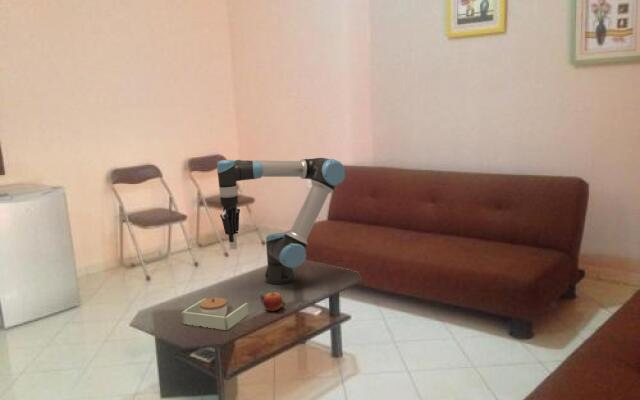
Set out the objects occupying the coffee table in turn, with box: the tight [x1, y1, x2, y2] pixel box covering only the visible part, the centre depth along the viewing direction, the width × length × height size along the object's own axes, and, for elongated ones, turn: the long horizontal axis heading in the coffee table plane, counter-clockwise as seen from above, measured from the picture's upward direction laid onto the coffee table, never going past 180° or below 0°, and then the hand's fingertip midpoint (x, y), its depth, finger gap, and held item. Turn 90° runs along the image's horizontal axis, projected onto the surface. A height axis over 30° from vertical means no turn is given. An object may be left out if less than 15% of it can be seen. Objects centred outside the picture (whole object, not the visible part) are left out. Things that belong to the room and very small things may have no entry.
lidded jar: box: [200, 297, 228, 317], centre depth 214 cm, size 11×11×9 cm
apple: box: [262, 291, 284, 312], centre depth 223 cm, size 8×8×8 cm
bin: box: [180, 298, 249, 331], centre depth 215 cm, size 16×21×5 cm
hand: (233, 248), depth 235 cm, fingers closed
